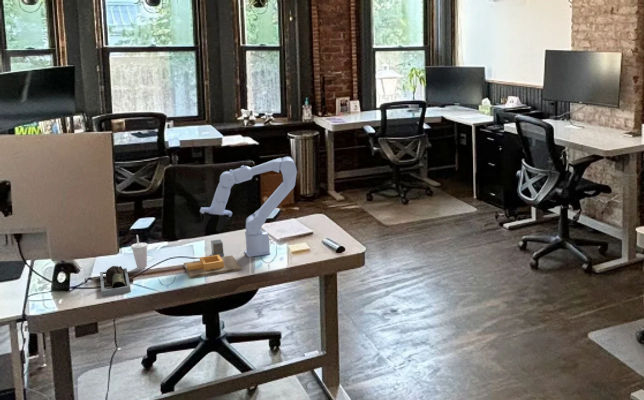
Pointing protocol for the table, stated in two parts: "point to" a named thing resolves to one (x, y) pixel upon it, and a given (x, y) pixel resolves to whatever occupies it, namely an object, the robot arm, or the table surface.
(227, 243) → the table surface
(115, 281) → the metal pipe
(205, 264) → the bracket collar
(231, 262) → the base plate
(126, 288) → the pipe rest
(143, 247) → the smoothie
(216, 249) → the grey block
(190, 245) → the table surface
